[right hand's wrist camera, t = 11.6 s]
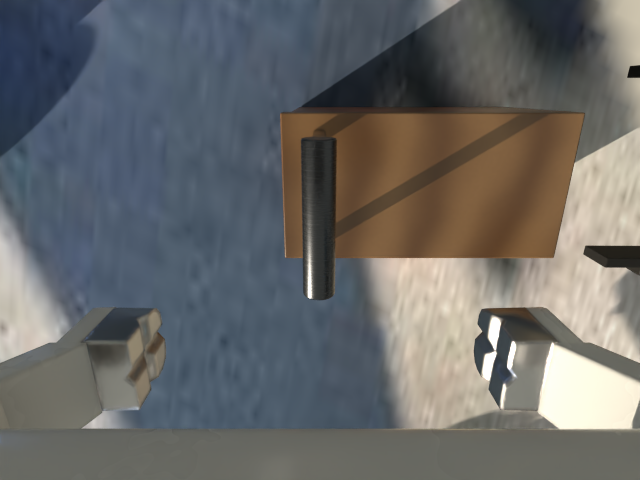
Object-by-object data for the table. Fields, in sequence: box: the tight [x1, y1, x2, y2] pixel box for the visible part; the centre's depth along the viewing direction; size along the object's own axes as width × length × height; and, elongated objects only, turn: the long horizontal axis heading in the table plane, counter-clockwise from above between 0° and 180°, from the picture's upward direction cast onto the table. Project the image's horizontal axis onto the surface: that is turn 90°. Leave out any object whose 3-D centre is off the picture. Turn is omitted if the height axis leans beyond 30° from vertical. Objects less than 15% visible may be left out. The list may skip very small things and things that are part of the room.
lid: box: [280, 112, 585, 300], centre depth 22 cm, size 18×9×9 cm, turn 90°
